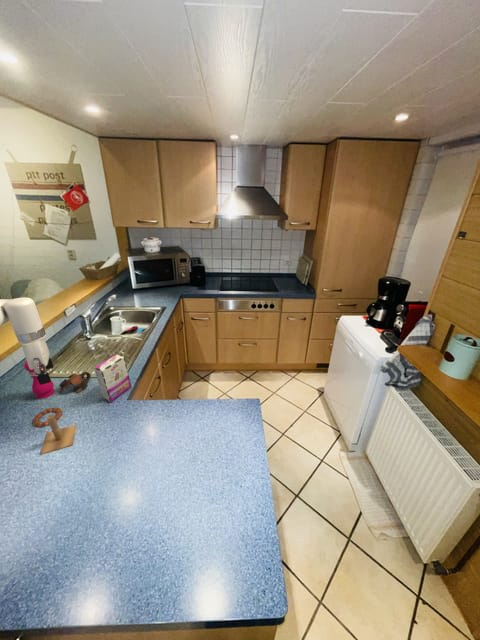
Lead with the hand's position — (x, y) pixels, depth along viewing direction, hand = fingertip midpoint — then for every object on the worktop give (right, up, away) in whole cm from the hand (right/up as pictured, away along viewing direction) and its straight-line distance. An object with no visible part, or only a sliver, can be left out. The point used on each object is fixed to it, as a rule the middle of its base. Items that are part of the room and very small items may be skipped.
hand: (47, 375), depth 91 cm
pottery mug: (-2, -10, +20) cm, 23 cm away
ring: (-3, -17, +4) cm, 17 cm away
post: (+8, -22, -4) cm, 24 cm away
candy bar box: (+17, -12, +18) cm, 27 cm away
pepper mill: (-13, -12, +16) cm, 24 cm away
